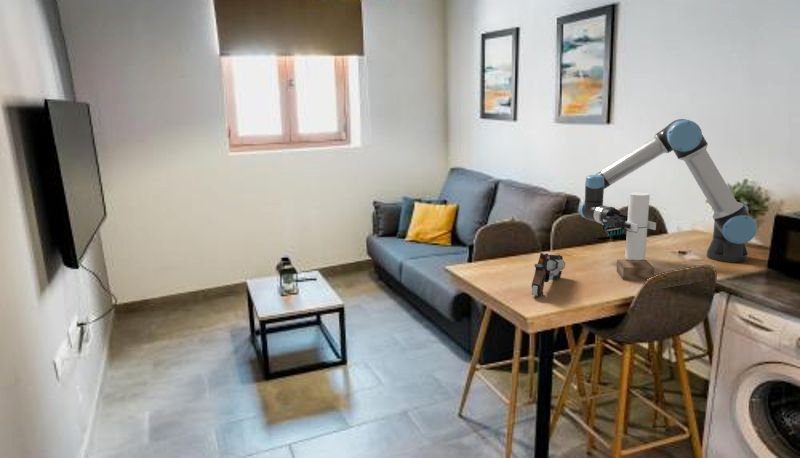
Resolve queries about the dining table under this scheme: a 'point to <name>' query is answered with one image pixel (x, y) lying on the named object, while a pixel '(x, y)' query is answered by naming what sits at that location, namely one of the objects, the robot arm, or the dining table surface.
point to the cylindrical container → (639, 216)
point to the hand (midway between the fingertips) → (646, 227)
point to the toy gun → (546, 271)
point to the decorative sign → (613, 230)
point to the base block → (634, 269)
